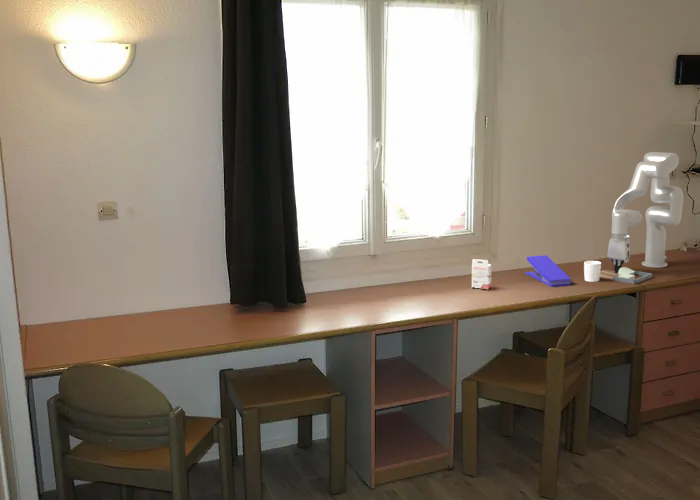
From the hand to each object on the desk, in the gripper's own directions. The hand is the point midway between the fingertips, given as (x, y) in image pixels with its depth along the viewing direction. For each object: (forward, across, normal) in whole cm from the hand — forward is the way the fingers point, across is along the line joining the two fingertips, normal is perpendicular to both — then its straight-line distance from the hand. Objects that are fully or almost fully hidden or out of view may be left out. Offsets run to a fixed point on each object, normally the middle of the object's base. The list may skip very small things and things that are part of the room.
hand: (617, 272), depth 363 cm
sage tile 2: (+1, -4, 0) cm, 4 cm away
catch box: (+2, -10, +4) cm, 11 cm away
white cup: (+2, +3, +19) cm, 19 cm away
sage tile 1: (+2, -9, +8) cm, 13 cm away
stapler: (+3, +22, +28) cm, 36 cm away
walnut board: (+2, +2, +4) cm, 5 cm away
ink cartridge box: (+2, +36, +63) cm, 73 cm away
